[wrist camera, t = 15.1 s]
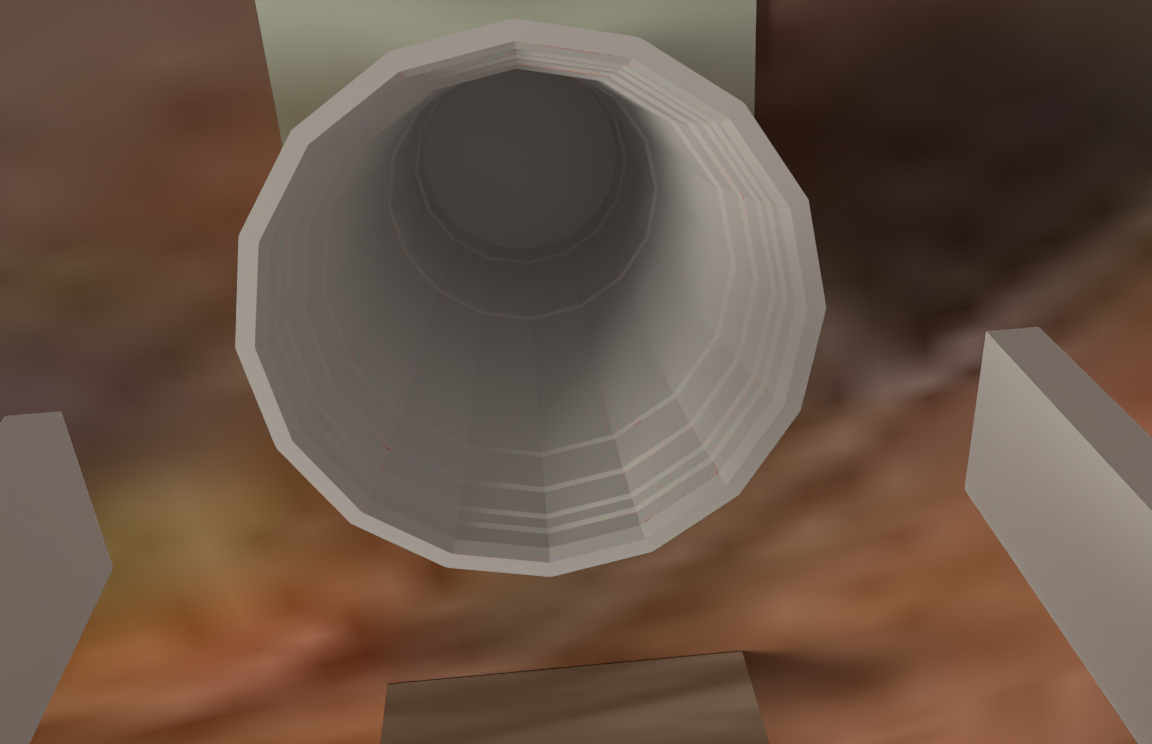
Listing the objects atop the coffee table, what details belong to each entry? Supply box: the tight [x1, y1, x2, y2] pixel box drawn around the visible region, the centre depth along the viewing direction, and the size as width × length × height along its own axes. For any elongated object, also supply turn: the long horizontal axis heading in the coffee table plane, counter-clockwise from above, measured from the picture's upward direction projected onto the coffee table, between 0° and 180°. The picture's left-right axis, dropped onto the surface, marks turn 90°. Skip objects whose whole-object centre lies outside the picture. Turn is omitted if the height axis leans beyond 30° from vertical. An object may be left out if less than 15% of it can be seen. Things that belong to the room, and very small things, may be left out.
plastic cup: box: [235, 18, 826, 577], centre depth 25 cm, size 11×11×12 cm
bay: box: [255, 0, 769, 744], centre depth 31 cm, size 30×13×5 cm, turn 3°
